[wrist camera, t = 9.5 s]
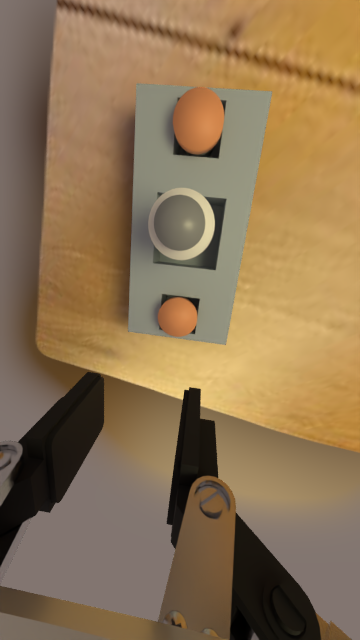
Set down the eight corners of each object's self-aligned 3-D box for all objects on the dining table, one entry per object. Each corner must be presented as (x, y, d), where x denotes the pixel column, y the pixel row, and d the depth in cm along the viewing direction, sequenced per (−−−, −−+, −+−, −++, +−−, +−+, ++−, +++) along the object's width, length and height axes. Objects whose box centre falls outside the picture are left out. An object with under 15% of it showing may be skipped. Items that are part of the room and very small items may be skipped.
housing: (149, 115, 25) (136, 83, 20) (258, 123, 24) (272, 91, 19) (139, 319, 32) (128, 331, 27) (222, 330, 31) (225, 344, 27)
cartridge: (171, 210, 26) (145, 178, 15) (213, 214, 26) (221, 185, 14) (167, 254, 28) (141, 257, 16) (207, 259, 28) (210, 265, 16)
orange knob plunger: (166, 288, 29) (159, 296, 24) (200, 293, 28) (199, 301, 24) (163, 320, 30) (156, 334, 25) (196, 325, 30) (194, 339, 25)
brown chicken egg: (181, 119, 23) (175, 85, 18) (223, 122, 23) (228, 88, 18) (177, 167, 25) (170, 147, 20) (216, 171, 24) (219, 151, 20)
